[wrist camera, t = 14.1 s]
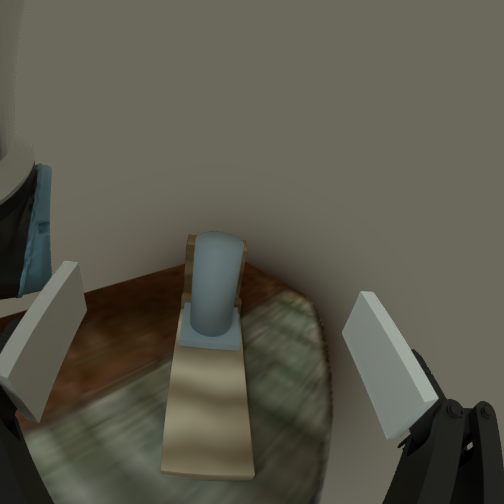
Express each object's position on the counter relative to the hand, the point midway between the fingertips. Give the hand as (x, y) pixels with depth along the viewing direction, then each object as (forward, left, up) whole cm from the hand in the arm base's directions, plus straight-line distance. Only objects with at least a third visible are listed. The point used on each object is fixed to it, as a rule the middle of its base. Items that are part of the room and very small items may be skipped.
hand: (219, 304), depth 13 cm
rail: (-6, +11, -19) cm, 23 cm away
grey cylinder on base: (-8, +15, -17) cm, 24 cm away
